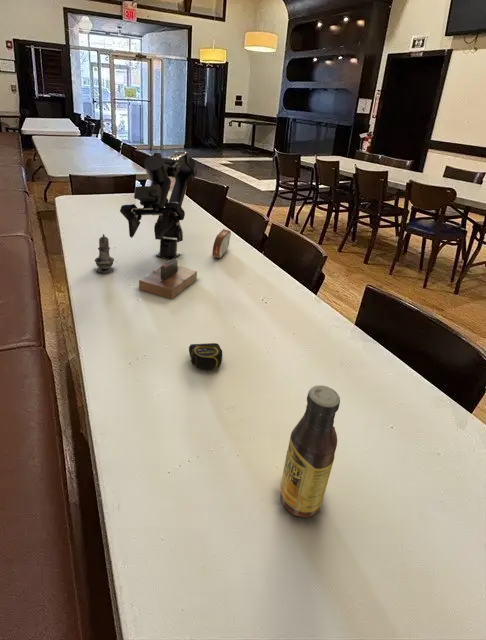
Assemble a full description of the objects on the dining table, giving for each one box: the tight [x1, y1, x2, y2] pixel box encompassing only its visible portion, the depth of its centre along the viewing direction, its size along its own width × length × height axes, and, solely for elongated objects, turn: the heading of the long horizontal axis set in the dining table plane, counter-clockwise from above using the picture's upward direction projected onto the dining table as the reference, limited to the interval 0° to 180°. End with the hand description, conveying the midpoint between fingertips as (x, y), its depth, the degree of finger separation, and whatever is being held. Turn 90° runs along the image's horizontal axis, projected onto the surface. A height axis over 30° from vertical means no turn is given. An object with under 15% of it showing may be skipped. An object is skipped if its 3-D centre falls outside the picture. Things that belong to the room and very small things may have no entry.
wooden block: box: [138, 265, 198, 300], centre depth 123 cm, size 15×11×3 cm
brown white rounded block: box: [211, 228, 232, 259], centre depth 149 cm, size 15×3×8 cm, turn 164°
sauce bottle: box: [279, 384, 341, 518], centre depth 57 cm, size 6×6×20 cm
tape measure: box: [188, 342, 223, 371], centre depth 88 cm, size 7×7×4 cm
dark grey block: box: [160, 258, 179, 280], centre depth 122 cm, size 7×2×4 cm, turn 157°
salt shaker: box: [94, 233, 115, 275], centre depth 127 cm, size 6×6×12 cm
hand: (144, 236), depth 117 cm, fingers open, 9 cm apart
